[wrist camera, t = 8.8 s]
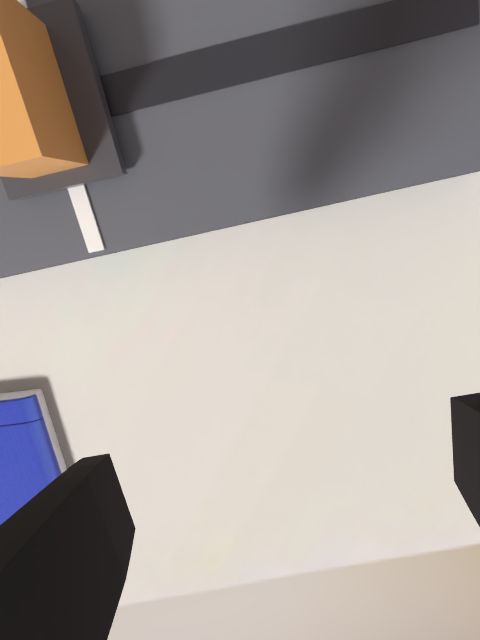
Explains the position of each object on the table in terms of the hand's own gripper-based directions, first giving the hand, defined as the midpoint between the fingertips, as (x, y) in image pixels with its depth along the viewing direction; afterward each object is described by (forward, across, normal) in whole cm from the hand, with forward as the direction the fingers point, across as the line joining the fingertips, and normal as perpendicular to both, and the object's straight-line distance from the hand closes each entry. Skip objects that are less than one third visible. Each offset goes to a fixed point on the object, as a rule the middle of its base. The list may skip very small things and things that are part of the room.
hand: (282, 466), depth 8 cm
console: (+9, +1, -10) cm, 13 cm away
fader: (+7, +6, -9) cm, 13 cm away
